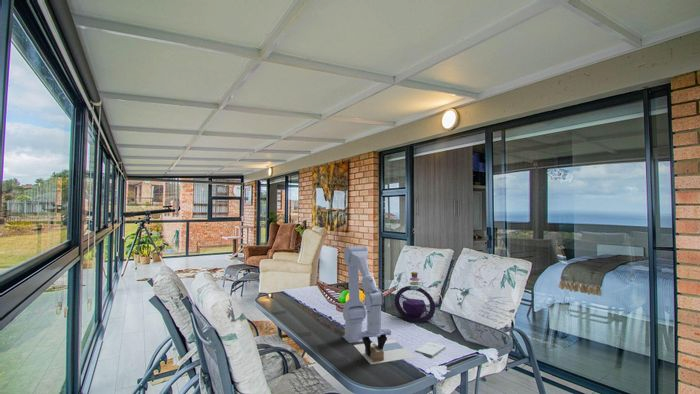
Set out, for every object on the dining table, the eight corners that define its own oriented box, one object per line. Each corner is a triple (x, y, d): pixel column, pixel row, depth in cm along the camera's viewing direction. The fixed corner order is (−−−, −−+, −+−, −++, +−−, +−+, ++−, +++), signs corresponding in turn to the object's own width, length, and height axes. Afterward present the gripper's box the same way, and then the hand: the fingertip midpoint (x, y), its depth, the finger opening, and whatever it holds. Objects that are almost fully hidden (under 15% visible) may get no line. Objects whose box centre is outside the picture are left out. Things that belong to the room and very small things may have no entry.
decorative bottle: (393, 322, 193) (393, 275, 194) (395, 310, 214) (395, 268, 214) (436, 324, 189) (436, 276, 190) (434, 312, 210) (434, 269, 210)
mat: (353, 346, 161) (353, 344, 161) (394, 340, 168) (394, 339, 168) (370, 365, 142) (370, 364, 142) (415, 358, 149) (415, 356, 149)
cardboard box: (365, 353, 153) (365, 344, 153) (374, 351, 154) (374, 343, 154) (373, 362, 144) (373, 352, 144) (383, 360, 146) (383, 351, 146)
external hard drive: (414, 353, 155) (428, 344, 164) (432, 359, 149) (445, 349, 159) (414, 350, 155) (428, 341, 164) (432, 355, 149) (445, 345, 159)
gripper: (361, 326, 143) (361, 360, 143) (394, 322, 148) (394, 355, 148) (355, 320, 150) (355, 353, 150) (386, 316, 155) (387, 348, 154)
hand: (374, 354), depth 149 cm, fingers closed on cardboard box, 4 cm apart
